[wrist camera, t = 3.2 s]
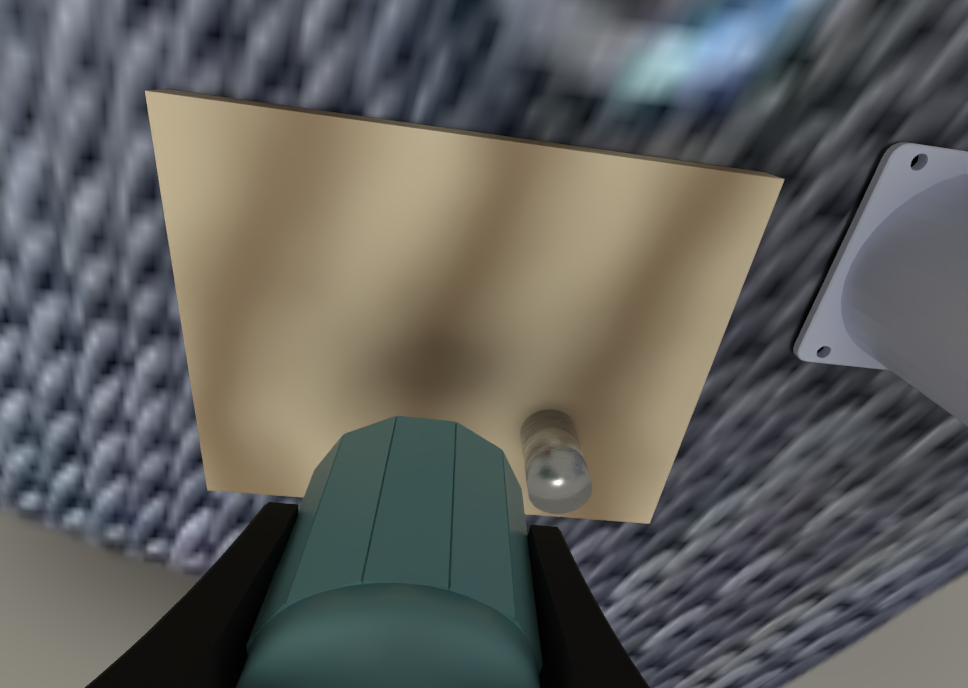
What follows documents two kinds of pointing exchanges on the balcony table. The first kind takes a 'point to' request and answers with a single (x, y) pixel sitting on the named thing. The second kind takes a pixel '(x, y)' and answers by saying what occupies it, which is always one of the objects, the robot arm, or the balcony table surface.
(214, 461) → the birch board
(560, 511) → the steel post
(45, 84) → the balcony table surface
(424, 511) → the teal cap
